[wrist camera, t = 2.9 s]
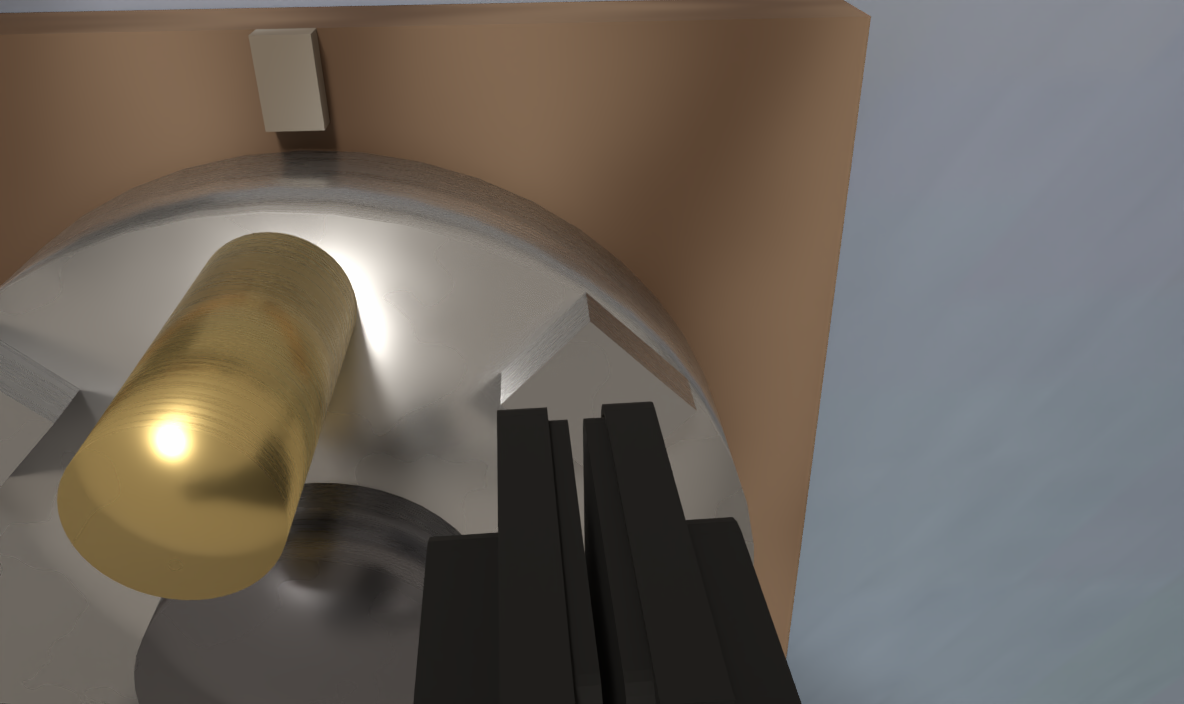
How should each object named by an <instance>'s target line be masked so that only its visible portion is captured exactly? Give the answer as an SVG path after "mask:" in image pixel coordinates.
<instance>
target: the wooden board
mask: <svg viewBox="0 0 1184 704" xmlns="http://www.w3.org/2000/svg"><path fill="white" fill-rule="evenodd" d="M870 19H871V16H869V15H867V14H866V13H864V12H862V11H861V10H859V9H857V8H856V7H854V6H852V5H851V4H849V3H847V2H846V1H844V0H644V1H593V2H542V3H491V4H440V5H389V6H338V7H287V8H236V9H186V10H135V11H84V12H33V13H0V286H1V285H2V284H3V283H4V282H6V281H7V280H8V279H9V278H10V277H11V276H12V275H13V274H14V273H15V272H16V271H17V270H19V269H20V268H21V267H22V266H23V265H24V264H25V263H26V262H27V261H28V260H29V259H30V258H32V257H33V256H34V255H35V254H36V253H37V252H38V251H39V250H40V249H41V248H42V247H43V246H45V245H46V244H47V243H49V242H50V241H51V240H52V239H54V238H55V237H56V236H57V235H59V234H60V233H61V232H63V231H64V230H65V229H66V228H68V227H69V226H70V225H72V224H73V223H74V222H75V221H77V220H78V219H79V218H81V217H82V216H83V215H85V214H86V213H88V212H90V211H92V210H94V209H95V208H97V207H99V206H101V205H103V204H104V203H106V202H108V201H110V200H112V199H113V198H115V197H117V196H119V195H121V194H122V193H124V192H126V191H128V190H130V189H131V188H134V187H137V186H139V185H142V184H145V183H147V182H150V181H153V180H155V179H158V178H161V177H163V176H166V175H169V174H171V173H174V172H177V171H179V170H182V169H185V168H189V167H193V166H198V165H202V164H207V163H211V162H216V161H220V160H224V159H229V158H233V157H238V156H243V155H254V154H265V153H276V152H287V151H298V150H311V151H339V152H363V153H370V154H376V155H382V156H388V157H395V158H401V159H407V160H413V161H420V162H424V163H428V164H431V165H434V166H438V167H441V168H445V169H448V170H452V171H455V172H459V173H462V174H466V175H469V176H473V177H476V178H479V179H482V180H484V181H486V182H489V183H491V184H493V185H496V186H498V187H500V188H503V189H505V190H507V191H510V192H512V193H514V194H517V195H519V196H521V197H524V198H526V199H528V200H531V201H533V202H534V203H536V204H538V205H540V206H541V207H543V208H545V209H546V210H548V211H550V212H552V213H553V214H555V215H557V216H558V217H560V218H562V219H563V220H565V221H567V222H569V223H570V224H572V225H574V226H575V227H577V228H579V229H580V230H582V231H583V232H584V233H585V234H587V235H588V236H589V237H591V238H592V239H593V240H594V241H596V242H597V243H598V244H600V245H601V246H602V247H603V248H605V249H606V250H607V251H609V252H610V253H611V254H613V255H614V256H615V257H616V258H618V259H619V260H620V261H621V262H622V263H623V264H624V265H625V266H626V267H627V268H628V269H629V270H630V271H631V272H632V273H633V274H634V275H635V276H636V277H637V278H638V279H639V280H640V281H641V282H642V283H643V284H644V285H645V286H646V287H647V288H648V289H649V290H650V291H651V292H652V293H653V294H654V295H655V296H656V297H657V299H658V300H659V302H660V303H661V304H662V306H663V307H664V308H665V310H666V311H667V313H668V314H669V315H670V317H671V318H672V319H673V321H674V322H675V323H676V325H677V326H678V328H679V329H680V330H681V332H682V333H683V334H684V336H685V338H686V340H687V342H688V344H689V346H690V348H691V350H692V351H693V353H694V355H695V357H696V359H697V361H698V363H699V365H700V367H701V369H702V371H703V372H704V375H705V377H706V380H707V383H708V386H709V389H710V392H711V395H712V398H713V401H714V404H715V407H716V410H717V413H718V416H719V419H720V422H721V425H722V428H723V431H724V434H725V437H726V440H727V443H728V446H729V449H730V453H731V456H732V459H733V462H734V465H735V468H736V471H737V474H738V477H739V480H740V483H741V486H742V489H743V492H744V495H745V498H746V501H747V505H748V511H749V518H750V524H751V530H752V537H753V543H754V569H755V572H756V575H757V577H758V580H759V583H760V586H761V589H762V592H763V595H764V598H765V600H766V603H767V606H768V609H769V612H770V615H771V618H772V621H773V623H774V626H775V629H776V632H777V635H778V638H779V641H780V644H781V646H782V649H783V652H784V655H785V658H786V656H787V648H788V641H789V633H790V626H791V618H792V610H793V603H794V595H795V588H796V580H797V572H798V565H799V557H800V550H801V542H802V535H803V527H804V519H805V512H806V504H807V497H808V489H809V481H810V474H811V466H812V459H813V451H814V444H815V436H816V428H817V421H818V413H819V406H820V398H821V390H822V383H823V375H824V368H825V360H826V353H827V345H828V337H829V330H830V322H831V315H832V307H833V299H834V292H835V284H836V277H837V269H838V262H839V254H840V246H841V239H842V231H843V224H844V216H845V208H846V201H847V193H848V186H849V178H850V171H851V163H852V155H853V148H854V140H855V133H856V125H857V117H858V110H859V102H860V95H861V87H862V80H863V72H864V64H865V57H866V49H867V42H868V34H869V27H870Z"/></svg>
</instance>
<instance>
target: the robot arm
mask: <svg viewBox="0 0 1184 704" xmlns="http://www.w3.org/2000/svg"><path fill="white" fill-rule="evenodd" d="M583 477H584V543H585V551H584V544H583V536H582V528H581V520H580V512H579V504H578V496H577V488H576V480H575V472H574V464H573V456H572V448H571V441H570V433H569V425H568V420H567V419H566V420H548V411H547V407H542V408H524V409H506V410H497V487H498V532H496V533H481V534H466V535H451V536H435V537H429V540H428V545H427V552H426V563H425V575H424V586H423V598H422V609H421V621H420V632H419V644H418V655H417V666H416V678H415V689H414V701H413V704H801V701H800V698H799V695H798V692H797V690H796V687H795V684H794V681H793V678H792V675H791V672H790V669H789V667H788V664H787V661H786V658H785V655H784V652H783V649H782V646H781V644H780V641H779V638H778V635H777V632H776V629H775V626H774V623H773V621H772V618H771V615H770V612H769V609H768V606H767V603H766V600H765V598H764V595H763V592H762V589H761V586H760V583H759V580H758V577H757V575H756V572H755V569H754V566H753V563H752V560H751V557H750V554H749V552H748V549H747V546H746V543H745V540H744V537H743V534H742V531H741V529H740V527H739V525H738V522H737V521H736V520H735V519H734V518H733V517H723V518H708V519H693V520H686V519H685V516H684V512H683V508H682V505H681V501H680V497H679V494H678V490H677V486H676V483H675V479H674V476H673V472H672V468H671V465H670V461H669V457H668V454H667V450H666V446H665V443H664V439H663V436H662V432H661V428H660V425H659V421H658V417H657V414H656V410H655V407H654V404H653V402H651V401H648V402H631V403H613V404H602V407H601V418H584V419H583Z"/></svg>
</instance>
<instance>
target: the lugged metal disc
mask: <svg viewBox="0 0 1184 704" xmlns="http://www.w3.org/2000/svg"><path fill="white" fill-rule="evenodd" d="M648 401H651V402H653V404H654V407H655V410H656V414H657V417H658V421H659V425H660V428H661V432H662V436H663V439H664V443H665V446H666V450H667V454H668V457H669V461H670V465H671V468H672V472H673V476H674V479H675V483H676V486H677V490H678V494H679V497H680V501H681V505H682V508H683V512H684V516H685V519H686V520H693V519H708V518H723V517H733V518H734V519H735V520H736V521H737V522H738V525H739V527H740V529H741V531H742V534H743V537H744V540H745V543H746V546H747V549H748V552H749V554H750V557H751V560H752V563H753V566H754V543H753V537H752V530H751V524H750V518H749V511H748V505H747V501H746V498H745V495H744V492H743V489H742V486H741V483H740V480H739V477H738V474H737V471H736V468H735V465H734V462H733V459H732V456H731V453H730V449H729V446H728V443H727V440H726V437H725V434H724V431H723V428H722V425H721V422H720V419H719V416H718V413H717V410H716V407H715V404H714V401H713V398H712V395H711V392H710V389H709V386H708V383H707V380H706V377H705V375H704V372H703V371H702V369H701V367H700V365H699V363H698V361H697V359H696V357H695V355H694V353H693V351H692V350H691V348H690V346H689V344H688V342H687V340H686V338H685V336H684V334H683V333H682V332H681V330H680V329H679V328H678V326H677V325H676V323H675V322H674V321H673V319H672V318H671V317H670V315H669V314H668V313H667V311H666V310H665V308H664V307H663V306H662V304H661V303H660V302H659V300H658V299H657V297H656V296H655V295H654V294H653V293H652V292H651V291H650V290H649V289H648V288H647V287H646V286H645V285H644V284H643V283H642V282H641V281H640V280H639V279H638V278H637V277H636V276H635V275H634V274H633V273H632V272H631V271H630V270H629V269H628V268H627V267H626V266H625V265H624V264H623V263H622V262H621V261H620V260H619V259H618V258H616V257H615V256H614V255H613V254H611V253H610V252H609V251H607V250H606V249H605V248H603V247H602V246H601V245H600V244H598V243H597V242H596V241H594V240H593V239H592V238H591V237H589V236H588V235H587V234H585V233H584V232H583V231H582V230H580V229H579V228H577V227H575V226H574V225H572V224H570V223H569V222H567V221H565V220H563V219H562V218H560V217H558V216H557V215H555V214H553V213H552V212H550V211H548V210H546V209H545V208H543V207H541V206H540V205H538V204H536V203H534V202H533V201H531V200H528V199H526V198H524V197H521V196H519V195H517V194H514V193H512V192H510V191H507V190H505V189H503V188H500V187H498V186H496V185H493V184H491V183H489V182H486V181H484V180H482V179H479V178H476V177H473V176H469V175H466V174H462V173H459V172H455V171H452V170H448V169H445V168H441V167H438V166H434V165H431V164H428V163H424V162H420V161H413V160H407V159H401V158H395V157H388V156H382V155H376V154H370V153H363V152H339V151H311V150H298V151H287V152H276V153H265V154H254V155H243V156H238V157H233V158H229V159H224V160H220V161H216V162H211V163H207V164H202V165H198V166H193V167H189V168H185V169H182V170H179V171H177V172H174V173H171V174H169V175H166V176H163V177H161V178H158V179H155V180H153V181H150V182H147V183H145V184H142V185H139V186H137V187H134V188H131V189H130V190H128V191H126V192H124V193H122V194H121V195H119V196H117V197H115V198H113V199H112V200H110V201H108V202H106V203H104V204H103V205H101V206H99V207H97V208H95V209H94V210H92V211H90V212H88V213H86V214H85V215H83V216H82V217H81V218H79V219H78V220H77V221H75V222H74V223H73V224H72V225H70V226H69V227H68V228H66V229H65V230H64V231H63V232H61V233H60V234H59V235H57V236H56V237H55V238H54V239H52V240H51V241H50V242H49V243H47V244H46V245H45V246H43V247H42V248H41V249H40V250H39V251H38V252H37V253H36V254H35V255H34V256H33V257H32V258H30V259H29V260H28V261H27V262H26V263H25V264H24V265H23V266H22V267H21V268H20V269H19V270H17V271H16V272H15V273H14V274H13V275H12V276H11V277H10V278H9V279H8V280H7V281H6V282H4V283H3V284H2V285H1V286H0V704H413V701H414V689H415V678H416V666H417V655H418V644H419V632H420V621H421V609H422V598H423V586H424V575H425V563H426V552H427V545H428V540H429V537H435V536H451V535H466V534H481V533H496V532H498V487H497V410H506V409H524V408H542V407H547V411H548V420H566V419H567V420H568V425H569V433H570V441H571V448H572V456H573V464H574V472H575V480H576V488H577V496H578V504H579V512H580V520H581V528H582V536H583V544H584V551H585V543H584V477H583V419H584V418H601V407H602V404H613V403H631V402H648Z"/></svg>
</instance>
